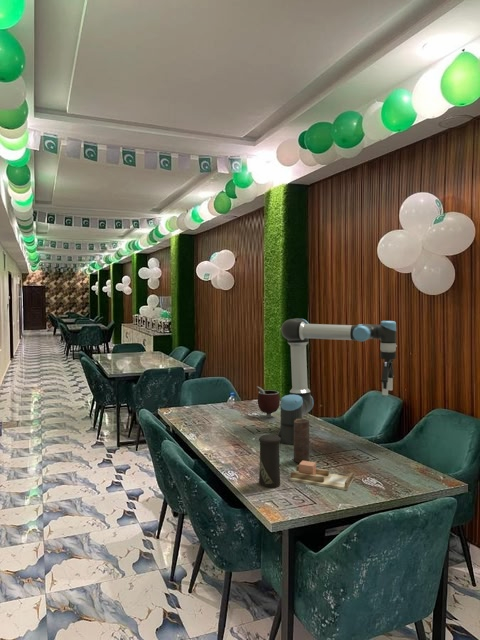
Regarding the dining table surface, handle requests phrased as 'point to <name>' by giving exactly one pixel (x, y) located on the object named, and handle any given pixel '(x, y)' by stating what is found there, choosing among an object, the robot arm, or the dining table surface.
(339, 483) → the chute
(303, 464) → the block
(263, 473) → the container
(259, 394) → the mate gourd
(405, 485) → the dining table surface
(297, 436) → the candle
